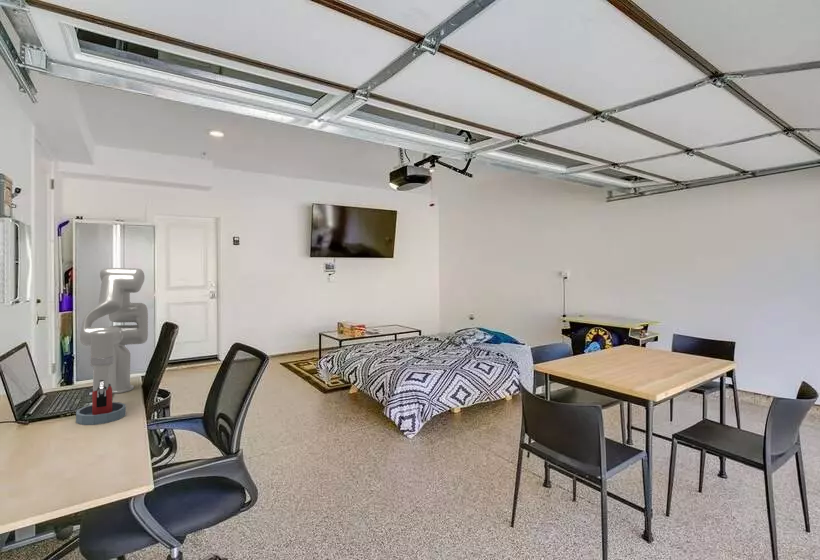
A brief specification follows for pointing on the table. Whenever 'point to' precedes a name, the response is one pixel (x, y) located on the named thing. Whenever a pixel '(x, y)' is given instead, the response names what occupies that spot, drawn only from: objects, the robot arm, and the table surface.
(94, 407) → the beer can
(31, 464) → the table surface
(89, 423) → the bowl
